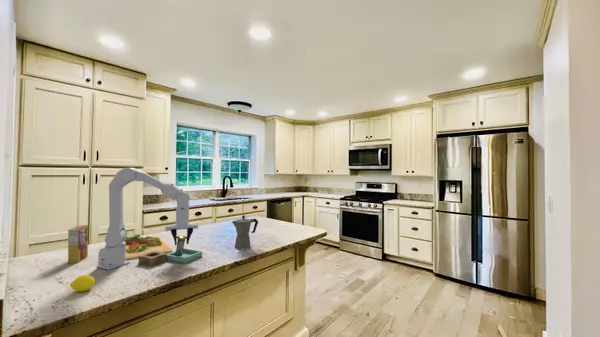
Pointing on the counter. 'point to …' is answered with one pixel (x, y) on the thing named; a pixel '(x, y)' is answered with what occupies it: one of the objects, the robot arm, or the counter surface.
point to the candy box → (77, 243)
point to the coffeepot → (243, 232)
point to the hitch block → (152, 258)
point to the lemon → (82, 283)
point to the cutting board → (144, 246)
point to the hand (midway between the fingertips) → (181, 244)
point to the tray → (184, 256)
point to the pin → (180, 245)
